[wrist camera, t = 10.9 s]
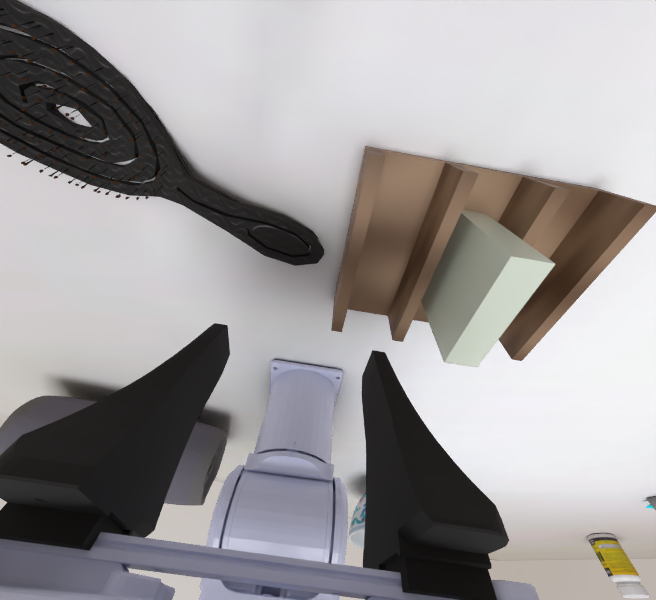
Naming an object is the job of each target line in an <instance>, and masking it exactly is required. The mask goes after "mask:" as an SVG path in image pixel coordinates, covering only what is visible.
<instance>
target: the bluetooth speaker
mask: <svg viewBox="0 0 656 600" xmlns="http://www.w3.org/2000/svg"><path fill="white" fill-rule="evenodd" d="M96 402H98V401H94V400H85V399H79V398H72V397H61V396H41V397H37V398H35V399H33V400H30V401H29V402H27V403H25V404H23V405H22V406H21V407H19V408H18V409H16V410H15V411H14V412H13V413H12V414H11V415H10V416H9V418H8V419H7V420H6V421H5V422H4V424H3V425H2V426H1V428H0V455H1V454H2V453H3V452H4V451H5V450H6V449H7V448H8V447H9V446H10V445H12V444H13V443H14V442H15V441H16V440H17V439H18V438H19V437H20V436H21V435H23V434H26V433H28V432H31V431H33V430H35V429H38V428H40V427H43V426H45V425H47V424H50V423H52V422H55V421H57V420H59V419H62V418H64V417H66V416H69V415H71V414H73V413H75V412H77V411H79V410H82V409H84V408H86V407H88V406H90V405H92V404H94V403H96ZM226 435H227V431H226V430H223V429H220V428H218V427H215V426H211V425H208V424H204V423H200V422H196V424H195V426H194V428H193V430H192V433H191V435H190V438H189V440H188V442H187V445H186V447H185V449H184V452H183V454H182V457H181V459H180V462H179V464H178V467H177V469H176V472H175V475H174V477H173V480H172V482H171V485H170V488H169V490H168V493H167V496H166V498H165V501H164V503H168V504H176V505H203V503H204V501H205V498H206V496H207V494H208V491H209V489H210V487H211V485H212V483H213V481H214V479H215V477H216V475H217V472H218V470H219V467H220V464H221V460H222V457H223V454H224V450H225V447H226V442H227V436H226Z"/></svg>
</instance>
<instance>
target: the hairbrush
mask: <svg viewBox="0 0 656 600" xmlns="http://www.w3.org/2000/svg"><path fill="white" fill-rule="evenodd" d="M0 25H3V26H7V27H10V28H14V29H18V30H19V31H22V32H24V33H26V34H29V35H31V36H33V37H29V36H25V35H22V34H18V33H14V32H11V31H7V30H4V29H0V58H19V59H29V60H28V62H26V61H23V60H10V59H9V60H1V61H0V143H1V144H3V145H4V146H6V147H8V148H10V149H11V150H13V151H15V153H16V152H17V153H19V154H21V155H23V156H25V157H28V158H30V159H32V160H31V161H33V160H35V161H37V162H39V163H42V164H44V165H46V166H48V167H51V168H53V169H55V170H58V171H60V172H62V173H64V174H67V175H69V176H71V177H74V178H75V179H78V180H81V182H82V181H83V182H85V183H87V184H90V185H93V186H97V187H99V188H100V187H101V188H104V189H108V190H110V191H111V190H112V191H115V192H119V193H120V194H121V193H123V194H126V195H135V196H146V199H147V198H148V197H147V196H157V197H163V198H165V199H168V200H171V201H173V202H176V203H179V204H181V205H184V206H185V207H187V208H189V209H190V210H192V211H194V212H195V213H197V214H199V215H200V216H202V217H204V218H206V219H207V220H209V221H211V222H212V223H214V224H216V225H217V226H219V227H221V228H222V229H224V230H226V231H227V232H229V233H231V234H232V235H234V236H235V237H237V238H238V239H240V240H241V241H243V242H244V243H246V244H247V245H249V246H250V247H252V248H253V249H255V250H257V251H258V252H260V253H261V254H263V255H264V256H267V257H270V258H273V259H276V260H280V261H283V262H286V263H289V264H292V265H295V266H296V265H305V264H315V263H318V262H319V260H320V259H321V258H322V256H323V255H324V249H323V247H322V246H321V245H320V243H321V242H320V243H319V242H318V241H317V240H316V238H318V237H317V236H316V235H315V234H314V232H313V231H311V230H310V229H308V228H306V227H304V226H302V225H300V224H298V223H297V222H295V221H293V220H291V219H289V218H287V217H285V216H283V215H280V214H277V213H274V212H270V211H267V210H264V209H261V208H258V207H254V206H251V205H248V204H245V203H242V202H240V201H238V200H236V199H234V198H232V197H230V196H228V195H226V194H225V193H223V192H221V191H219V190H217V189H215V188H213V187H211V186H209V185H207V184H205V183H204V182H202V181H200V180H198V179H196V178H194V177H193V175H192V174H191V172H190V170H189V169H188V167H187V166H186V164H185V163H184V161H183V159H182V158H181V156H180V155H179V153H178V152H177V150H176V148H175V147H174V145H173V143H172V141H171V140H170V138H169V136H168V134H167V132H166V131H165V129H164V127H163V125H162V123H161V122H160V120H159V118H158V117H157V115H156V113H155V112H154V110H153V109H152V107H151V106H150V105H149V104H148V103H147V102H146V101H145V100H144V98H143V97H142V96H141V95H140V94H139V92H138V91H137V89H136V88H135V87H134V86H133V85H132V84H131V83H130V82H129V81H128V80H127V79H126V78H125V77H124V76H123V75H121V74H120V73H119V72H118V71H117V70H116V69H115V68H114V67H113V66H112V65H111V64H110V63H109V62H108V61H107V60H106V59H105V58H104V57H103V56H102V55H100V54H99V53H98V52H97V51H96V50H95V49H94V48H93V47H91V46H90V45H88V44H87V43H86V42H84V41H83V40H81V39H80V38H78V37H77V36H75V35H74V34H73V33H74V32H73V33H71V32H72V31H71V32H70V31H68V30H69V29H68V30H67V28H66V29H65V27H64V26H62V25H60V24H59V23H57V22H56V21H54V20H52V19H51V18H49V17H48V16H46V15H44V14H42V13H40V12H38V11H36V10H34V9H32V8H30V7H28V6H26V5H24V4H22V3H20V2H18V1H16V0H0ZM37 38H38V39H40V40H42V41H44V42H47V43H49V44H51V45H53V46H56V47H58V48H54V47H52V46H50V45H49V44H47V43H44V42H42V41H40V40H38V39H37ZM58 49H62V50H64V51H65V52H67V53H68V54H69V55H71V56H72V57H73V58H75V59H76V60H75V59H73V58H71V57H70V56H68V55H67V54H65V53H64V52H62V50H61V51H60V50H58ZM33 61H34V62H37V63H39V64H42V65H45V66H47V67H50V68H53V69H55V70H58V71H60V72H63V73H65V74H66V75H68V76H69V78H68V76H65V75H62V74H60V73H58V72H54V71H51V70H50V69H46V68H45V67H42V66H40V65H37V64H35V63H32V62H33ZM78 61H79V62H78ZM70 77H71V78H72V79H70ZM100 77H101V78H100ZM73 79H74V80H73ZM104 80H105V81H106V82H107V83H106V82H105V81H104ZM75 81H77V82H75ZM34 83H40V84H47V85H49V86H51V87H53V88H55V89H52V88H46V87H47V86H46V85H42V87H41V86H34ZM79 83H80V84H81V85H80V84H79ZM108 83H109V84H110V85H111V86H112V87H113V88H114V89H115V90H114V89H113V88H112V87H111V86H110V85H109V84H108ZM82 85H83V86H82ZM58 90H60V91H58ZM61 91H62V92H61ZM69 95H70V96H69ZM72 96H73V97H72ZM74 97H75V98H74ZM76 98H77V99H76ZM103 99H104V100H103ZM106 101H107V102H108V103H107V102H106ZM145 102H146V103H147V104H146V103H145ZM109 103H110V104H111V105H112V106H111V105H110V104H109ZM56 104H58V105H61V106H59V107H56ZM147 105H148V106H149V107H150V108H151V109H152V111H153V112H154V113H155V115H156V117H157V118H158V120H159V122H160V124H159V122H158V121H157V119H156V118H155V116H154V115H153V113H152V112H151V110H150V109H149V107H148V106H147ZM53 106H54V107H55V109H56V110H57V112H56V111H55V110H54V109H53ZM62 106H66V107H70V108H74V109H76V110H75V111H77V110H78V111H79V112H80V113H81V114H82V115H83V117H84V118H85V119H86V120H87V121H88V122H89V123H90V125H91V126H92V127H87V126H83V125H79V124H75V123H72V122H70V121H71V120H70V121H69V119H67V118H66V117H64V116H63V115H62V114H60V113H59V112H58V108H60V107H62ZM73 112H74V111H73ZM71 113H72V112H71ZM66 116H69V114H68V113H66ZM76 117H77V116H76ZM74 118H75V117H71V119H72V120H74ZM66 132H67V133H66ZM71 134H72V135H71ZM108 135H109V139H110V140H108V141H105V142H102V143H101V142H90V141H87V140H84V139H83V138H87V139H91V140H95V141H96V140H103V139H104V138H105V137H107V136H108ZM76 136H78V137H76ZM80 137H82V138H80ZM78 151H79V152H78ZM81 152H82V153H81ZM84 153H85V154H84ZM86 154H87V155H86ZM138 154H139V155H138ZM88 155H90V156H88ZM7 156H8V157H11V156H12V155H7ZM91 156H93V157H96V158H97V159H96V158H93V157H91ZM137 157H138V158H137ZM98 158H99V159H102V160H105V161H108V162H105V161H101V160H98ZM134 158H137V159H135V160H134V161H132V162H131V163H129V164H126V165H122V166H121V165H117V164H113V163H116V162H124V161H128V160H131V159H134ZM27 161H28V160H27ZM31 161H29V162H27V163H25V162H26V161H25V162H21V164H23V165H24V166H25V165H27V164H28V163H30V162H31ZM109 162H111V163H109ZM45 169H46V168H45ZM43 171H44V170H40V173H41V172H43ZM58 171H56V172H58ZM56 172H55V173H56ZM93 172H94V173H93ZM55 173H53V174H51V175H49V176H53V175H54V174H55ZM62 173H61V174H62ZM96 173H98V174H96ZM61 174H60V175H61ZM99 174H101V175H99ZM102 175H104V176H102ZM156 175H157V176H156ZM105 176H108V177H111V178H108V177H105ZM155 176H156V178H155V180H154V181H151V182H146V183H145V184H141V183H132V182H129V181H136V182H143V181H145V180H148V179H150V178H151V177H153V178H154V177H155ZM55 178H58V176H55V177H54V179H55ZM112 178H114V179H112ZM75 179H74V180H75ZM116 179H117V180H116ZM151 179H152V178H151ZM122 180H125V181H122ZM72 181H73V180H72ZM72 181H69V182H68V183H69V184H70V183H71V182H72ZM87 184H86V185H87ZM75 185H76V186H79V184H75ZM86 185H84V186H82V187H81V189H82V188H85V186H86ZM99 188H97V189H95V190H94V191H95V192H96V191H97V190H98V189H99ZM110 191H109V192H110ZM109 192H107V193H106V194H105V195H108V193H109ZM97 193H100V191H98V192H97ZM120 194H119V195H116V198H119V197H121V196H120ZM128 198H129V197H126V199H128ZM136 199H137V200H138V199H139V197H137V198H136ZM313 235H314V236H315V237H316V238H315V237H314V236H313ZM308 245H310V246H311V250H310V252H309V253H308V248H309V246H308Z"/></svg>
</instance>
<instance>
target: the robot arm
mask: <svg viewBox="0 0 656 600" xmlns="http://www.w3.org/2000/svg"><path fill="white" fill-rule="evenodd" d="M229 355H230V350H229V338H228V327H227V325H222V324H216V323H215V324H213V325H212V326H211V327H209V328H208V329H207V330H206V331H204V332H203V333H202V334H201V335H200V336H198V337H197V338H196V339H195V340H193V341H192V342H191V343H190V344H188V345H187V346H186V347H184V348H183V349H182V350H181V351H179V352H178V353H177V354H175V355H174V356H173V357H171V358H170V359H168V360H167V361H165V362H164V363H163V364H161V365H160V366H158V367H157V368H155V369H154V370H152V371H151V372H149V373H148V374H146V375H145V376H143V377H141V378H140V379H138V380H136V381H135V382H133V383H131V384H130V385H128V386H126V387H124V388H122V389H121V390H119V391H117V392H115V393H113V394H112V395H110V396H108V397H106V398H104V399H102V400H100V401H98V402H96V403H94V404H92V405H90V406H88V407H86V408H84V409H82V410H79V411H77V412H75V413H73V414H71V415H69V416H66V417H64V418H62V419H59V420H57V421H55V422H52V423H50V424H47V425H45V426H43V427H40V428H38V429H35V430H33V431H31V432H28V433H26V434H23V435H21V436H20V437H19V438H18V439H17V440H16V441H15V442H14V443H13V444H12V445H10V446H9V447H8V448H7V449H6V450H5V451H4V452H3V453H2V454H1V455H0V498H1V499H3V500H5V501H6V502H7V504H6V505H5V506H4V507H3V508H2V509H1V510H0V600H172V598H173V596H174V593H175V589H174V588H172V587H169V586H167V585H164V584H163V583H162V582H161V579H158V578H153V577H147V576H143V575H139V574H134V573H129V570H128V568H132V569H139V570H147V571H154V572H162V573H170V574H178V575H185V576H192V577H201V578H202V579H201V583H200V589H201V594H200V598H199V600H339V596H345V597H353V598H361V599H365V600H539V598H538V595H537V593H536V590H535V588H534V586H532V585H531V584H526V583H519V582H512V581H505V580H491V578H490V575H489V572H488V569H491V562H490V559H489V556H488V554H489V553H491V552H494V551H496V550H498V549H501V548H503V547H505V546H506V545H507V543H508V541H509V539H508V536H507V533H506V531H505V528H504V525H503V522H502V519H501V517H500V515H499V512H498V510H497V508H496V506H495V504H494V503H493V502H492V501H491V500H490V499H489V498H488V497H487V496H486V495H485V494H484V493H483V492H482V491H481V490H480V489H479V488H478V487H477V486H476V485H475V484H474V483H473V482H472V481H471V480H470V479H469V478H468V477H467V476H466V475H465V474H464V472H463V471H462V470H461V469H460V468H459V467H458V466H457V465H456V464H455V462H454V461H453V460H452V459H451V458H450V456H449V455H448V454H447V453H446V451H445V450H444V449H443V448H442V447H441V445H440V444H439V443H438V442H437V440H436V439H435V438H434V436H433V435H432V434H431V432H430V431H429V430H428V428H427V427H426V425H425V424H424V422H423V421H422V419H421V418H420V416H419V415H418V413H417V412H416V410H415V409H414V407H413V405H412V404H411V402H410V400H409V399H408V397H407V395H406V393H405V392H404V390H403V388H402V386H401V384H400V382H399V380H398V379H397V377H396V375H395V373H394V371H393V368H392V366H391V364H390V362H389V360H388V358H387V356H386V354H385V352H379V351H373V350H372V353H371V356H370V358H369V361H368V363H367V366H366V368H365V371H364V373H363V376H362V404H363V415H364V426H365V437H366V509H365V534H364V553H363V568H362V567H355V566H347V565H344V562H345V555H346V545H347V528H348V503H347V492H346V488H345V486H344V485H343V483H342V481H341V479H340V478H336V477H333V470H334V465H333V464H331V447H332V429H333V412H334V405H335V402H336V398H337V395H338V391H339V388H340V385H341V381H342V378H343V371H341V370H338V369H331V368H325V367H318V366H312V365H305V364H299V363H293V362H286V361H280V360H273V361H272V363H271V379H270V398H269V402H268V405H267V409H266V412H265V416H264V419H263V423H262V426H261V430H260V433H259V437H258V440H257V444H256V447H255V451H254V454H249V455H248V459H247V462H246V465H245V466H244V465H239V466H237V467H236V469H235V470H234V471H232V472H231V473H230V474H229V475H228V477H227V479H226V480H225V482H224V485H223V487H222V489H221V492H220V494H219V497H218V500H217V503H216V506H215V510H214V512H213V516H212V520H211V524H210V528H209V533H208V539H207V545H206V546H200V545H193V544H186V543H177V542H171V541H164V540H156V539H149V538H145V537H146V536H148V535H149V534H150V533H151V532H152V531H154V529H155V527H156V524H157V520H158V518H159V515H160V512H161V510H162V507H163V504H164V501H165V498H166V496H167V493H168V490H169V488H170V485H171V482H172V480H173V477H174V475H175V472H176V469H177V467H178V464H179V462H180V459H181V457H182V454H183V452H184V449H185V447H186V445H187V442H188V440H189V438H190V435H191V433H192V430H193V428H194V426H195V424H196V422H197V420H198V418H199V416H200V414H201V412H202V410H203V408H204V406H205V404H206V403H207V401H208V399H209V397H210V395H211V393H212V392H213V390H214V388H215V386H216V384H217V382H218V380H219V379H220V377H221V375H222V373H223V370H224V368H225V365H226V363H227V360H228V358H229Z"/></svg>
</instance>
